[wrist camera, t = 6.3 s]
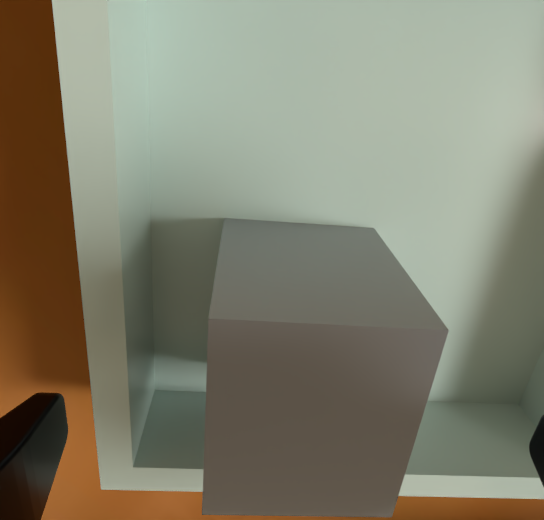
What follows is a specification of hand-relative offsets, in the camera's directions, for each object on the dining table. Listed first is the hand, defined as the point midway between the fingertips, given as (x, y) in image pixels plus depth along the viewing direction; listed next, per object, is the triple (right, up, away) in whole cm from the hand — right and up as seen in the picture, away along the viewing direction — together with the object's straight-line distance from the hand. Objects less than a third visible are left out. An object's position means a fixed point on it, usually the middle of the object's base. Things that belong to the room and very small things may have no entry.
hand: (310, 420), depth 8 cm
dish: (+2, +4, +4) cm, 6 cm away
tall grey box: (0, +2, +4) cm, 4 cm away
